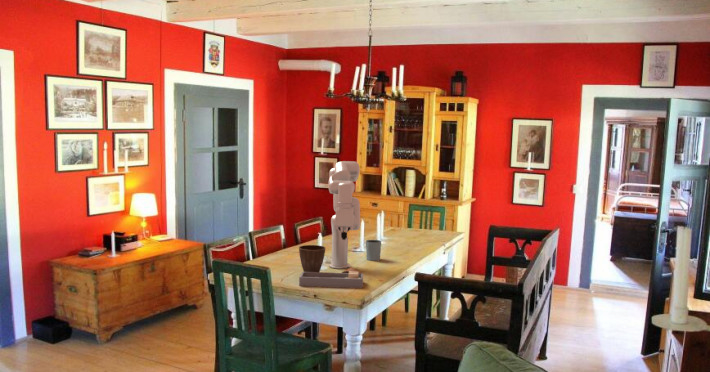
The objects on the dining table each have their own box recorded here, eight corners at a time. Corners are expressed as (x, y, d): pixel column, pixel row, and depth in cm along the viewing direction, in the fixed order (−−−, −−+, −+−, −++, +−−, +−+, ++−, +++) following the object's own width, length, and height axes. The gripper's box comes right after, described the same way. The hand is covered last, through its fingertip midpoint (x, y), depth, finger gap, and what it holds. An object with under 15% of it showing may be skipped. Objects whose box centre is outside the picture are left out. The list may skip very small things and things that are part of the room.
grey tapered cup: (379, 261, 355) (380, 242, 354) (363, 260, 357) (364, 241, 356) (381, 258, 365) (382, 240, 364) (366, 257, 367) (367, 239, 366)
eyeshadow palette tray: (302, 279, 306) (302, 271, 306) (362, 281, 305) (363, 273, 305) (299, 285, 295) (299, 277, 294) (362, 287, 293) (362, 279, 293)
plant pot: (305, 271, 326) (306, 243, 324) (329, 274, 320) (329, 246, 319) (293, 276, 312) (294, 248, 311) (318, 280, 307) (318, 251, 305)
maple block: (349, 278, 301) (349, 271, 301) (358, 279, 301) (358, 271, 301) (348, 281, 296) (348, 273, 296) (357, 281, 296) (357, 274, 296)
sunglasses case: (353, 280, 307) (347, 269, 308) (342, 285, 309) (337, 274, 310) (363, 273, 324) (358, 262, 325) (353, 278, 326) (348, 268, 327)
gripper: (359, 205, 304) (358, 238, 307) (331, 204, 305) (331, 237, 308) (358, 207, 297) (357, 241, 299) (330, 206, 298) (329, 240, 300)
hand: (344, 239), depth 304 cm, fingers closed
